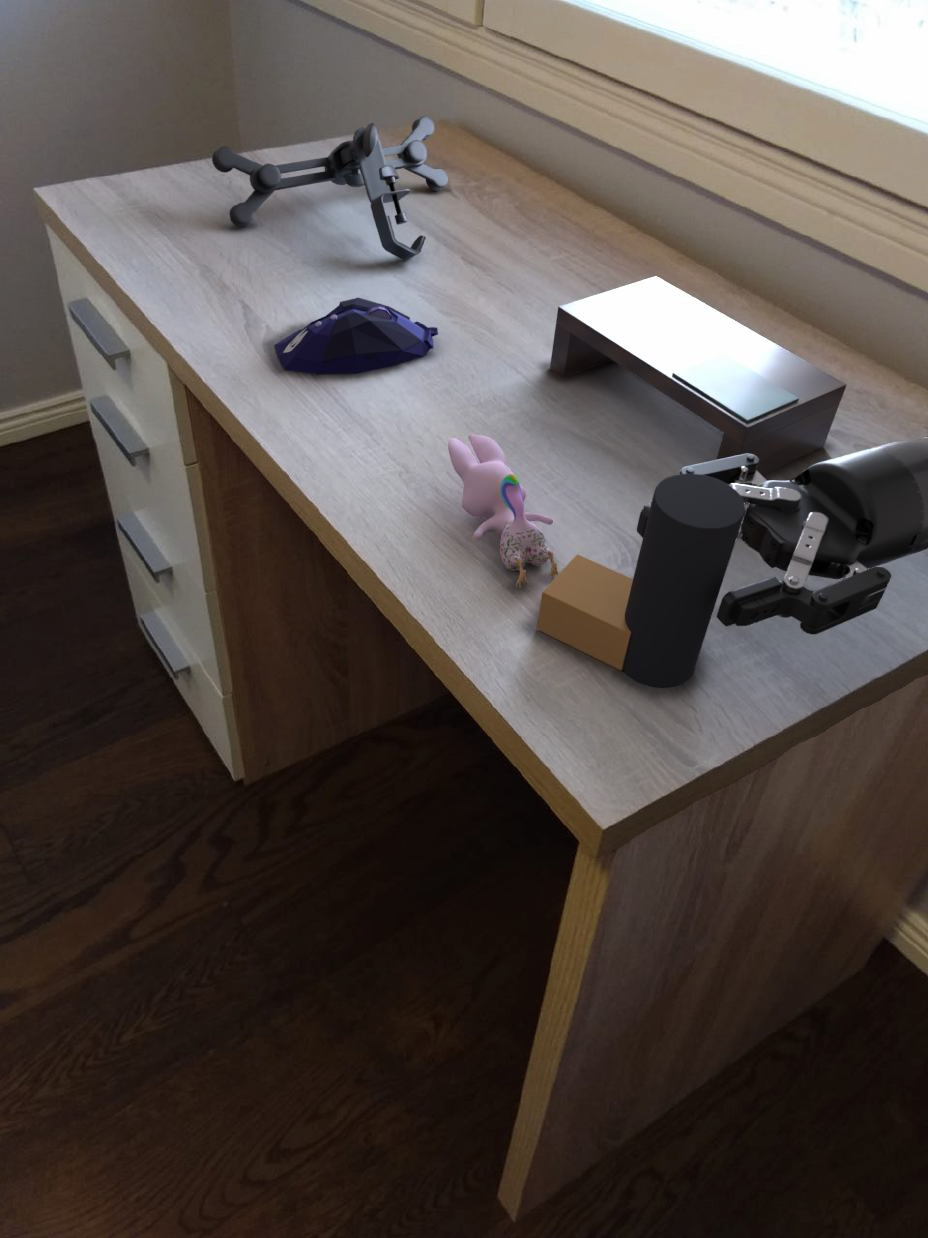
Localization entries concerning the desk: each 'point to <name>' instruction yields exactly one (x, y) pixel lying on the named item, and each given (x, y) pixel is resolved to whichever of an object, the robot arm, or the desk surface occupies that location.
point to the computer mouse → (355, 340)
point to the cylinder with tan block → (652, 586)
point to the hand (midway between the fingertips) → (680, 565)
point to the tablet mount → (346, 177)
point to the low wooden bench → (703, 368)
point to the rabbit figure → (500, 504)
